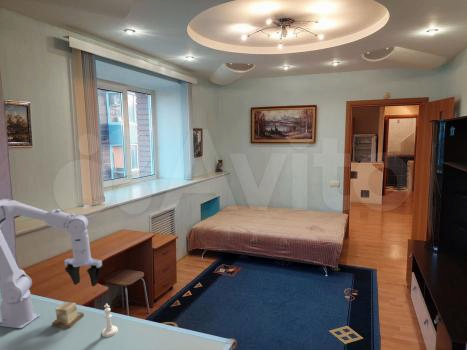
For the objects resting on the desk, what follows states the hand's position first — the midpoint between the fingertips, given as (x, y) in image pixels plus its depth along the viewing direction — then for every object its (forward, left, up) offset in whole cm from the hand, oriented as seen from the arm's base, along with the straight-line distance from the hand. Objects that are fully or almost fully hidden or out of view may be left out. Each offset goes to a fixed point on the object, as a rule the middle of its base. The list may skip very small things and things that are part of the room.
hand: (85, 284), depth 116 cm
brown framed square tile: (-3, -7, -10) cm, 13 cm away
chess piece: (+16, -10, -11) cm, 22 cm away
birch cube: (-3, -7, -9) cm, 12 cm away
